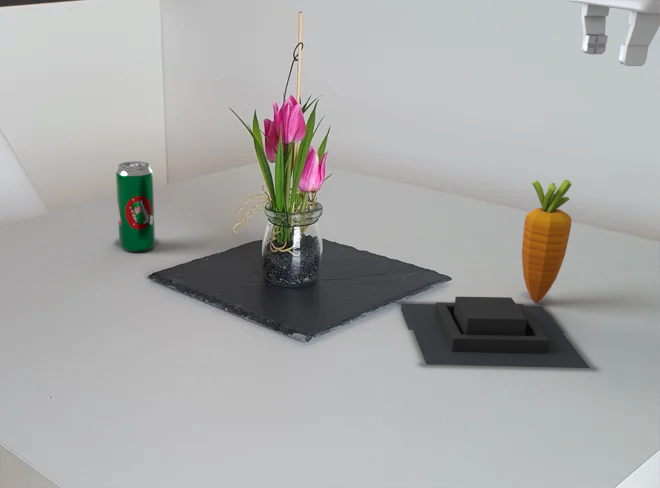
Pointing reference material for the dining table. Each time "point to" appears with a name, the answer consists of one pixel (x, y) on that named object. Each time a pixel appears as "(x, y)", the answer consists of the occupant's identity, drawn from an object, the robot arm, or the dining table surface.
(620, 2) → the robot arm
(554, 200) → the carrot
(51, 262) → the dining table surface
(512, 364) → the socket mat
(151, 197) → the soda can
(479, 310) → the black block
